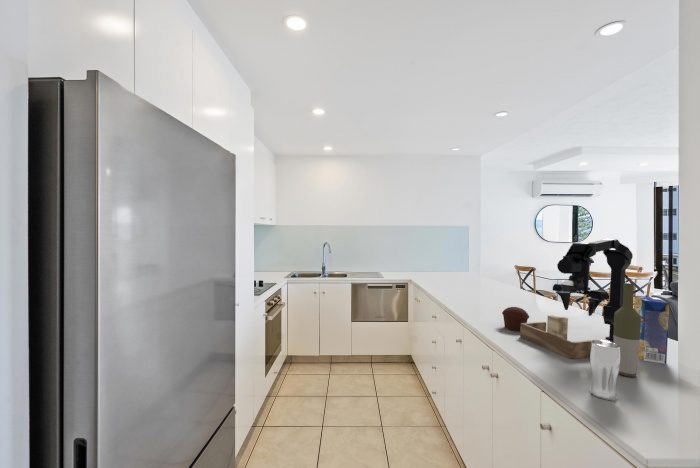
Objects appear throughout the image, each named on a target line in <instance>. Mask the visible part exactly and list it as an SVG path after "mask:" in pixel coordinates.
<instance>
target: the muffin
mask: <svg viewBox="0 0 700 468" xmlns="http://www.w3.org/2000/svg"><path fill="white" fill-rule="evenodd" d="M501 314H502V316H503V323H504V328H505V329H507V330H508V331H512V332H519V333H520V326H521V323H528V319H530V315H529V314H528V312H527V311H526V310H525V309H523V308H521V307H519V306H518V307H517V306H508V307H507V308H504V310H503V311H502V312H501Z"/></svg>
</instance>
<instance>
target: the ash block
mask: <svg viewBox="0 0 700 468" xmlns="http://www.w3.org/2000/svg"><path fill="white" fill-rule="evenodd" d="M568 328H569V317H566V316H562V315H559V314H551V315H549V314H548V315H547V320H546V332H547V333H550V334H552V335H555V336H558V337H561V338H563V339H566V340H568V330H569V329H568Z"/></svg>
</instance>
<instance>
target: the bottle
mask: <svg viewBox="0 0 700 468" xmlns="http://www.w3.org/2000/svg"><path fill="white" fill-rule="evenodd" d="M623 288H624V291H623V306H622V307H621V308H620V309H618V310H617V311H616V312H615V313H614V335H613V340H612V341H613V343H616V344H618V345H619V346H620V368H619V373H618V375H621V376H624V377H632V378H633V377H636V376H637V374H638V368H639V343H640V329H641V315H640V314H639V313H638V312H637V311H636V310H635V309H634V290H635V283H630V282H627V283H626V282H625V283H624V285H623Z"/></svg>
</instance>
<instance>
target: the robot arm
mask: <svg viewBox="0 0 700 468" xmlns="http://www.w3.org/2000/svg"><path fill="white" fill-rule="evenodd" d="M600 252H602V254H603V255H604V256H605V258H606V264H607V265H608V266H609V268H610V282H609V283H610V285H609V292H608V291H604V290H599V289H594V290H593V289H591V287H589V284H590V281H591V280H592V277H591V276H590V269H591V264H593V263H594V261H593V259H591V258H592V257H594V256H596V255H597V253H600ZM633 257H634V255H633V253H632V251H631V250H630V248H629V247H628V246H627V245H624V244H622V243H621V242H620V240H619V239H616V238H604V239H600V240H595V241H592V242H591V241H590V242H579V241H578V242H577V241H576V242H575V241H574V242H572V243H571V245H570V247H569V249H568V251H567V252H566V254H565V255H563V256H562V259H560V260H559V261H558V263H557V264H556V265H557V270H558V271H559V273H561V274H563V275H564V274H565V275H566V274H567V275H568V274H569V277H568V279H567V280H565V281H563V282H561V283H554V284H553V285H552V291H553V292H555V293H556V294H558V296H559V297H560V299H561V302H562V305H563V308H564V311H568V310H569V306H570V300H571V294H579V295H586V296H588V297H590V298H587V300H588V302H589V303H588V311H587V312H588V313H587V314H588V317H591V316H593V314H594V312H595V311H596V309H597V307H598V306H599V305H601V303H602V302H605V301H606V300H609V302H608V303H607V304H606V305H604V306H603V307H602V308H603V312H602V318H603V323H604V324H605V325H609V333H608V334H609V335H608V336H605V339H606V340H611V341H613V335H614V313H615V312H616V311H617V310H618V309H620V308H621V307H622V306H623V291H624V288H623V285H624V283H626V270H627V269H628V268H629V266H630V265H631V264H632V259H633Z"/></svg>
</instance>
